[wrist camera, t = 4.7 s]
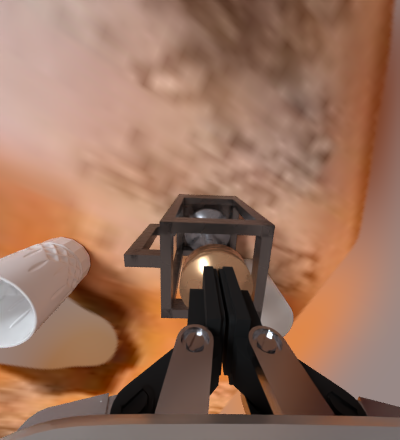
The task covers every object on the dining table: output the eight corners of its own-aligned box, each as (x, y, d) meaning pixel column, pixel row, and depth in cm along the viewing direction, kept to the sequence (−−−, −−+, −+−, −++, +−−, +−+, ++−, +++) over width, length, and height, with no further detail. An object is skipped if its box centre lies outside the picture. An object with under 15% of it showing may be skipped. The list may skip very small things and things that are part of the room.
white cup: (106, 256, 26) (52, 307, 16) (76, 294, 28) (12, 361, 18) (54, 220, 25) (-37, 254, 15) (26, 262, 26) (-73, 318, 17)
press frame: (155, 193, 24) (110, 219, 12) (236, 196, 24) (274, 225, 12) (156, 246, 26) (119, 316, 14) (231, 248, 26) (260, 320, 14)
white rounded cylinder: (226, 258, 26) (237, 295, 19) (269, 259, 27) (298, 297, 19) (223, 295, 28) (232, 343, 20) (263, 296, 28) (288, 344, 20)
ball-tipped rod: (185, 207, 21) (172, 246, 11) (231, 208, 21) (265, 249, 11) (184, 250, 23) (172, 323, 12) (228, 251, 23) (254, 325, 12)
